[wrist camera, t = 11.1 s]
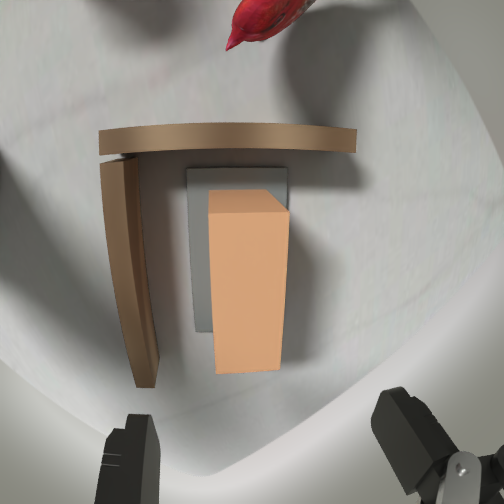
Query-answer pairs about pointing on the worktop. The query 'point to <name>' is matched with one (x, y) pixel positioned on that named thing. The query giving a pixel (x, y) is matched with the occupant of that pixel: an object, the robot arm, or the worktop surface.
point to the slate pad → (199, 224)
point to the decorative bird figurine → (264, 19)
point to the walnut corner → (129, 213)
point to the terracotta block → (247, 278)
